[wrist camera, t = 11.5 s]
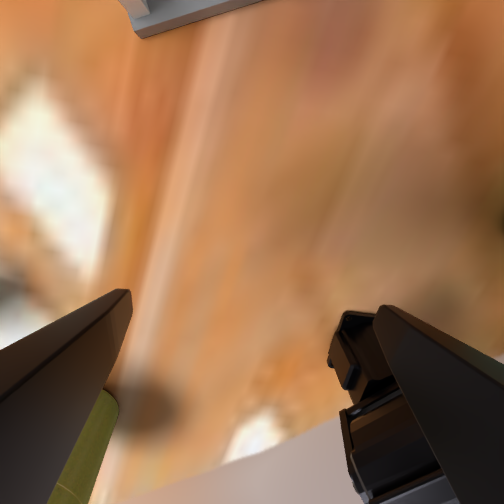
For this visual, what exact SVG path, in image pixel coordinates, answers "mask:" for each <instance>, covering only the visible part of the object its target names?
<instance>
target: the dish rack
mask: <svg viewBox="0 0 504 504" xmlns="http://www.w3.org/2000/svg"><path fill="white" fill-rule="evenodd" d="M118 1H119V2H120V3H121V4H122V5H123V7H124V8H125V9H126V10H127V12H128V15H129V18H130V21H131V24H132V27H133V30H134V32H135V33H136V34H137V35H138V36H139V37H140V38H141V39H142V38H145V37H148V36H152V35H155V34H158V33H161V32H164V31H167V30H171V29H174V28H177V27H180V26H183V25H186V24H189V23H193V22H196V21H199V20H202V19H205V18H208V17H212V16H215V15H218V14H221V13H224V12H227V11H231V10H234V9H237V8H240V7H243V6H246V5H249V4H253V3H256V2H259V1H262V0H118Z"/></svg>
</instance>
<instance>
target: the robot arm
mask: <svg viewBox="0 0 504 504" xmlns="http://www.w3.org/2000/svg"><path fill="white" fill-rule="evenodd" d="M132 313H133V306H132V296H131V291H130V290H129V289H115V290H113V291H111V292H109V293H107V294H105V295H103V296H101V297H100V298H98V299H96V300H94V301H92V302H90V303H88V304H86V305H84V306H83V307H81V308H79V309H77V310H75V311H73V312H71V313H69V314H68V315H66V316H64V317H62V318H60V319H58V320H56V321H54V322H52V323H51V324H49V325H47V326H45V327H43V328H41V329H39V330H37V331H35V332H34V333H32V334H30V335H28V336H26V337H24V338H22V339H20V340H18V341H17V342H15V343H13V344H11V345H9V346H7V347H5V348H3V349H1V350H0V504H47V502H48V500H49V498H50V496H51V494H52V492H53V490H54V488H55V486H56V484H57V481H58V479H59V477H60V475H61V473H62V471H63V469H64V467H65V465H66V463H67V461H68V459H69V457H70V455H71V453H72V450H73V448H74V446H75V444H76V442H77V440H78V438H79V436H80V434H81V432H82V430H83V428H84V426H85V424H86V422H87V419H88V417H89V415H90V413H91V411H92V409H93V407H94V405H95V403H96V401H97V399H98V397H99V395H100V393H101V391H102V389H103V386H104V384H105V382H106V380H107V378H108V376H109V374H110V372H111V370H112V368H113V366H114V364H115V361H116V359H117V357H118V354H119V351H120V349H121V346H122V343H123V340H124V337H125V334H126V331H127V329H128V326H129V323H130V320H131V317H132ZM347 317H349V318H347ZM346 318H347V319H346ZM328 354H329V356H328V359H327V364H328V366H329V367H330V368H334V369H335V371H336V374H337V376H338V379H339V382H340V384H341V387H342V388H343V389H344V390H348V392H349V395H350V397H351V399H352V402H353V404H354V405H353V406H351V407H349V408H348V409H343V410H341V411H339V415H340V421H341V429H342V435H343V442H344V448H345V454H346V460H347V467H348V472H349V475H350V477H351V479H352V483H353V487H354V488H355V490H356V492H357V493H358V494H359V495H360V497H361V498H362V500H363V502H364V504H504V364H502V363H500V362H498V361H496V360H495V359H493V358H491V357H489V356H487V355H485V354H483V353H481V352H480V351H478V350H476V349H474V348H472V347H470V346H468V345H466V344H465V343H463V342H461V341H459V340H457V339H455V338H453V337H452V336H450V335H448V334H446V333H444V332H442V331H440V330H438V329H437V328H435V327H433V326H431V325H429V324H427V323H425V322H423V321H422V320H420V319H418V318H416V317H414V316H412V315H410V314H408V313H407V312H405V311H403V310H401V309H399V308H397V307H395V306H393V305H381V306H380V307H379V309H378V311H377V313H376V315H371V314H363V313H355V312H345V313H344V314H343V315H342V317H341V320H340V323H339V326H338V329H337V331H336V332H335V334H334V337H333V340H332V343H331V346H330V349H329V352H328Z"/></svg>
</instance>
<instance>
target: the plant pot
mask: <svg viewBox="0 0 504 504" xmlns="http://www.w3.org/2000/svg"><path fill="white" fill-rule="evenodd" d="M118 414H119V408H118V404H117V402H116V401H115V399H114V398H113V397H112V396H111V395H110V394H109V393H108V392H106V391H105V390H102V391H101V393H100V395H99V397H98V399H97V401H96V403H95V405H94V407H93V409H92V411H91V413H90V415H89V417H88V419H87V422H86V424H85V426H84V428H83V430H82V432H81V434H80V436H79V438H78V440H77V442H76V444H75V446H74V448H73V450H72V453H71V455H70V457H69V459H68V461H67V463H66V465H65V467H64V469H63V471H62V473H61V475H60V477H59V479H58V481H57V484H56V486H55V488H54V490H53V492H52V494H51V496H50V498H49V500H48V502H47V504H88V502H89V499H90V496H91V493H92V490H93V487H94V484H95V481H96V478H97V475H98V473H99V470H100V467H101V464H102V461H103V458H104V455H105V452H106V449H107V446H108V444H109V441H110V438H111V435H112V432H113V429H114V426H115V423H116V420H117V417H118Z"/></svg>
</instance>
